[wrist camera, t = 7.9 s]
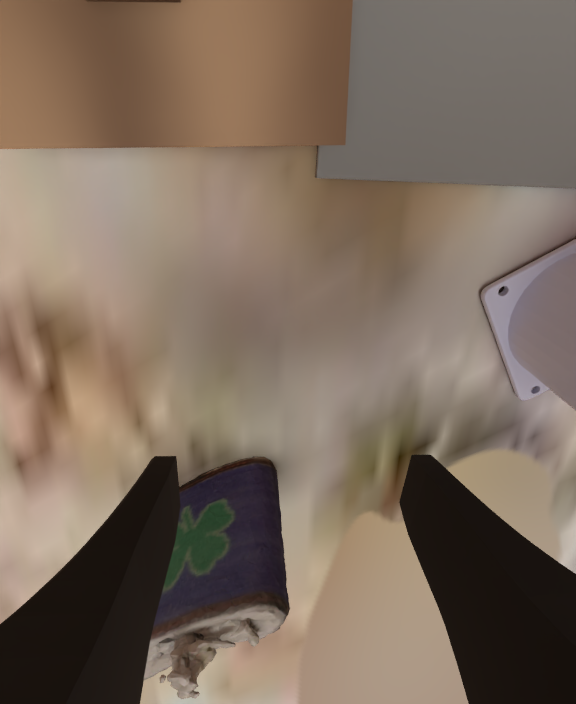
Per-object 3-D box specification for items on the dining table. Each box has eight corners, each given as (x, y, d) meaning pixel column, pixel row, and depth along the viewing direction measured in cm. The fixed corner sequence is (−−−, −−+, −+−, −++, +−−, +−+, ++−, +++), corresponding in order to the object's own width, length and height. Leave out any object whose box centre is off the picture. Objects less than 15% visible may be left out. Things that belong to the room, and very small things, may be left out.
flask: (163, 530, 27) (115, 739, 17) (136, 503, 26) (68, 714, 16) (285, 476, 26) (304, 671, 16) (262, 445, 24) (269, 637, 15)
